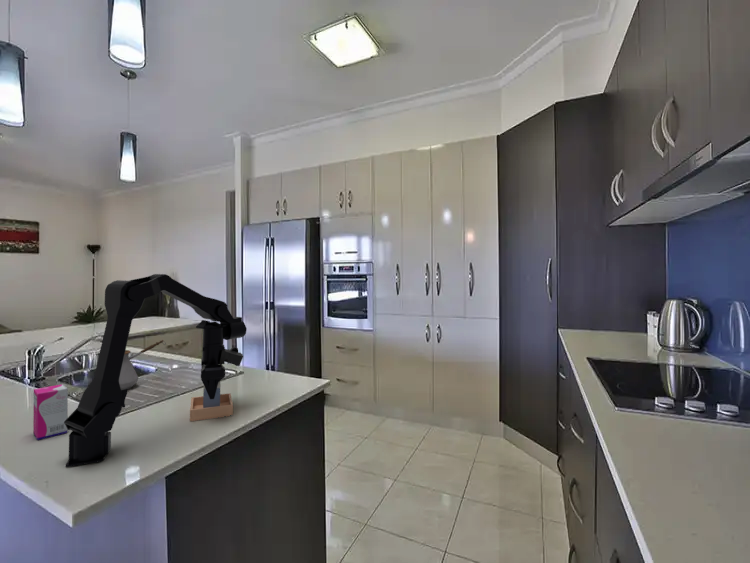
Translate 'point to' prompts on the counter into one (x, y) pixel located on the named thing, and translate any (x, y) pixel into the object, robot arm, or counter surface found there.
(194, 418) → the bin
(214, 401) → the block
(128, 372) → the coffee pot
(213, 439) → the counter surface
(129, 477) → the counter surface
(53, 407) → the supplement box
